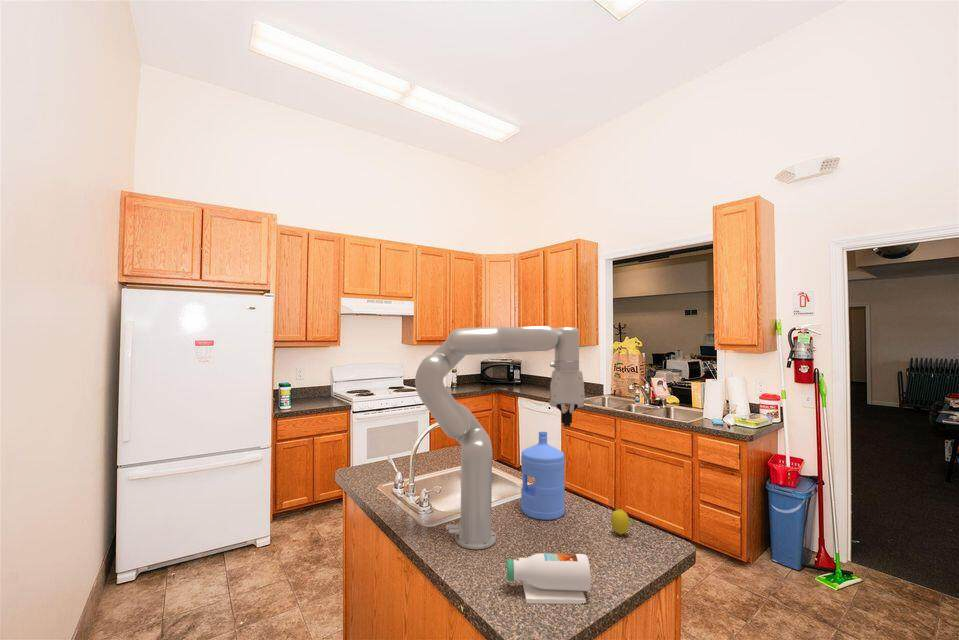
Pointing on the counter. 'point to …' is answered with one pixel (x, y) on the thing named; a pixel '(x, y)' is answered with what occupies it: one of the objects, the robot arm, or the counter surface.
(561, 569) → the milk bottle
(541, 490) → the water jug
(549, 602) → the cutting board
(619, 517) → the lemon
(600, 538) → the counter surface
